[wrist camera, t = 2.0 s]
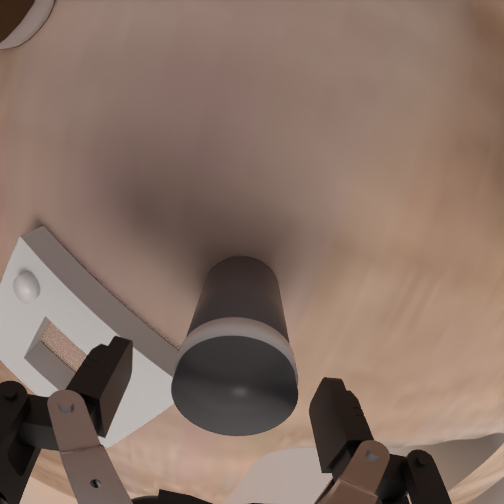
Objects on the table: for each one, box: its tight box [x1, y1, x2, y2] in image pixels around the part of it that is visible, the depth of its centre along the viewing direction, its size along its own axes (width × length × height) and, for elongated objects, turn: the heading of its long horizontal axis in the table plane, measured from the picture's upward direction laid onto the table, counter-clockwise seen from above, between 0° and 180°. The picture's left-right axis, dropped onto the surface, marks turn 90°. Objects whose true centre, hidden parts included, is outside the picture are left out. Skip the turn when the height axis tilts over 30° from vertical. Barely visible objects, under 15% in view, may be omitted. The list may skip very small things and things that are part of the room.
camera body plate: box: [0, 226, 179, 448], centre depth 20 cm, size 16×14×4 cm
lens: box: [171, 256, 298, 436], centre depth 16 cm, size 5×5×10 cm
